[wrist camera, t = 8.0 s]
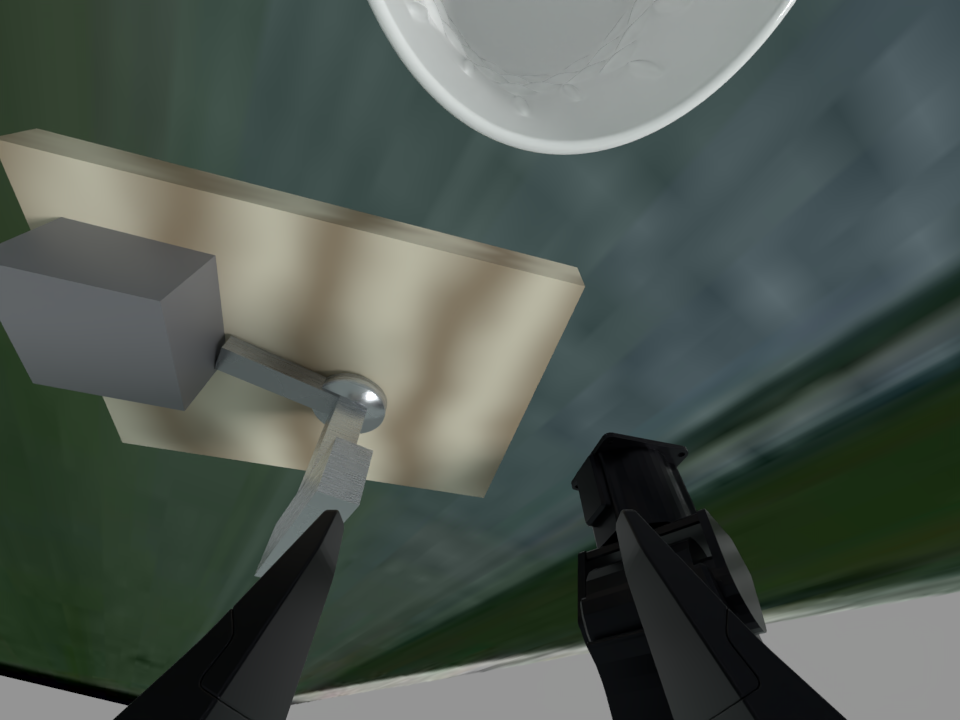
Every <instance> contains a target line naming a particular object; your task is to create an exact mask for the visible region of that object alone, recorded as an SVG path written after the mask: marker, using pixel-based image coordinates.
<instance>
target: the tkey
mask: <svg viewBox="0 0 960 720" xmlns="http://www.w3.org/2000/svg"><path fill="white" fill-rule="evenodd" d="M214 369H217V370H219V371H222V372H224V373H227V374H229V375H232V376H234V377H236V378H239V379H241V380H244V381H246V382H249V383H251V384H254V385H256V386H258V387H261V388H263V389H266V390H268V391H271V392H273V393H276V394H278V395H280V396H283V397H285V398H288V399H290V400H293V401H295V402H298V403H300V404H302V405H305V406H307V407H310V408H312V409H313V412H314V414H315V415H316V417H317V418H318V419H319V420H320V421H321V422H322V423H323V424H325V425H324V427H323V430H322V432H321V435H320V437H319V440H318V442H317V445H316V447H315V450H314V452H313V455H312V457H311V460H310V462H309V465H308V467H307V470H306V472H305V475H304V477H303V480H302V482H301V485H300V487H299V490H298V492H297V494H296V496H295V497H294V499H293V500H292V501H291V503H290V504H289V506H288V507H287V509H286V510H285V512H284V513H283V514H282V516H281V517H280V519H279V520H278V522H277V523H276V525H275V527H274V530H273V532H272V535H271V537H270V539H269V542H268V544H267V547H266V549H265V551H264V554H263V556H262V558H261V561H260V563H259V566H258V568H257V570H256V573H255V575H254V576H257V577H262V576H263V575H264V574H265V573H266V572H267V570H268V569H269V568H270V567H271V566H272V565H273V564H274V563H275V562H276V561H277V560H278V559H279V558H280V557H281V556H282V555H283V554H284V553H285V552H286V551H287V549H288V548H289V547H290V546H291V545H292V544H293V543H294V542H295V541H296V540H297V539H298V538H299V537H300V536H301V535H302V534H303V533H304V532H305V531H306V530H307V529H308V527H309V526H310V525H311V524H312V523H313V522H314V521H315V520H316V519H317V518H318V517H319V516H320V515H321V514H322V513H323V512H324V511H325V510H338V511H339V512H340V515H341V517H342V520H343V523H344V522H345V521H346V520H347V519H348V518H349V517H350V515H351V514H352V513H353V512H354V511H355V510H356V509H357V507H358V506H359V505H360V501H361V497H362V493H363V489H364V485H365V481H366V477H367V473H368V470H369V466H370V462H371V458H372V454H373V450H370V449H367V448H365V447H362V446H360V445H357V441H358V438H359V435H360V434H361V433H366V432H370V431H372V430H374V429H376V428H377V427H379V426H380V425H381V423H382V422H383V420H384V417H385V413H386V409H387V398H386V395H385V393H384V392H383V390H382V389H381V388H380V387H379V386H378V385H377V384H376V383H375V382H373V381H371V380H370V379H368V378H366V377H363V376H360V375H356V374H351V373H339V374H334V375H331V376H328V377H324V376H322V375H320V374H318V373H315V372H313V371H311V370H309V369H306V368H304V367H302V366H299V365H297V364H295V363H293V362H290V361H288V360H286V359H284V358H281V357H279V356H277V355H275V354H272V353H270V352H268V351H266V350H263V349H261V348H259V347H256V346H254V345H252V344H250V343H247V342H245V341H243V340H241V339H238V338H236V337H234V336H231V337H230V338H229V339H228V340H227V342H226V343H225V344H224V345H223V346H222V348H221V351H220V354H219V356H218V359H217V362H216V365H215V368H214Z"/></svg>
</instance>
